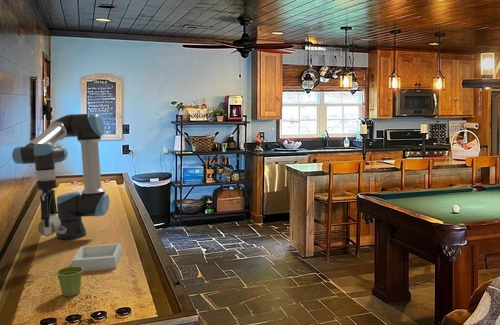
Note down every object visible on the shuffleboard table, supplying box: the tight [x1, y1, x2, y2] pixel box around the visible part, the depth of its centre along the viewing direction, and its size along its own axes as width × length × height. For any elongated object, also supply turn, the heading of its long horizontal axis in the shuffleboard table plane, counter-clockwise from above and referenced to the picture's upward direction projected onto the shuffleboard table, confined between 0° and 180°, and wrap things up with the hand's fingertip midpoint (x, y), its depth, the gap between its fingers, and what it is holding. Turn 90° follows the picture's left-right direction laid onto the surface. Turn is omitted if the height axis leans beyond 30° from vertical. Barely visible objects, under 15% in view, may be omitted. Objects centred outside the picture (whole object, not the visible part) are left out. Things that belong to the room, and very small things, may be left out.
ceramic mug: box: [37, 215, 66, 237], centre depth 200 cm, size 11×8×8 cm
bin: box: [71, 243, 122, 273], centre depth 202 cm, size 20×17×5 cm
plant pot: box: [55, 265, 84, 297], centre depth 168 cm, size 9×9×9 cm
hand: (50, 231), depth 200 cm, fingers closed on ceramic mug, 8 cm apart
